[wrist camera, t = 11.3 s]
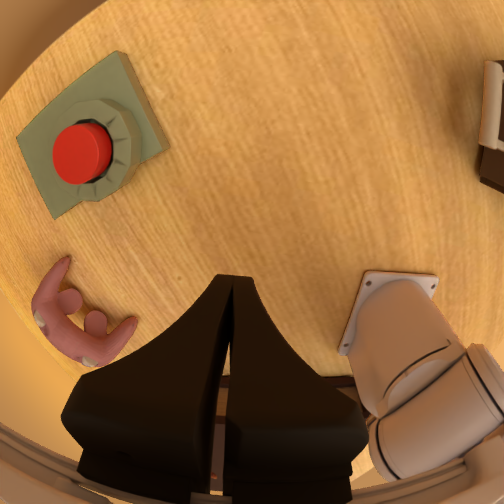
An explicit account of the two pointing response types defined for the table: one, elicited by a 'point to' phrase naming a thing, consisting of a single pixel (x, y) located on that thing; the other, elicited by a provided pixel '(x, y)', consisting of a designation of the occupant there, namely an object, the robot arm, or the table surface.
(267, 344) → the robot arm
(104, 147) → the button
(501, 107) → the drawer
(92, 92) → the olive button base
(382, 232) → the table surface
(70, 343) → the pink pronged piece
